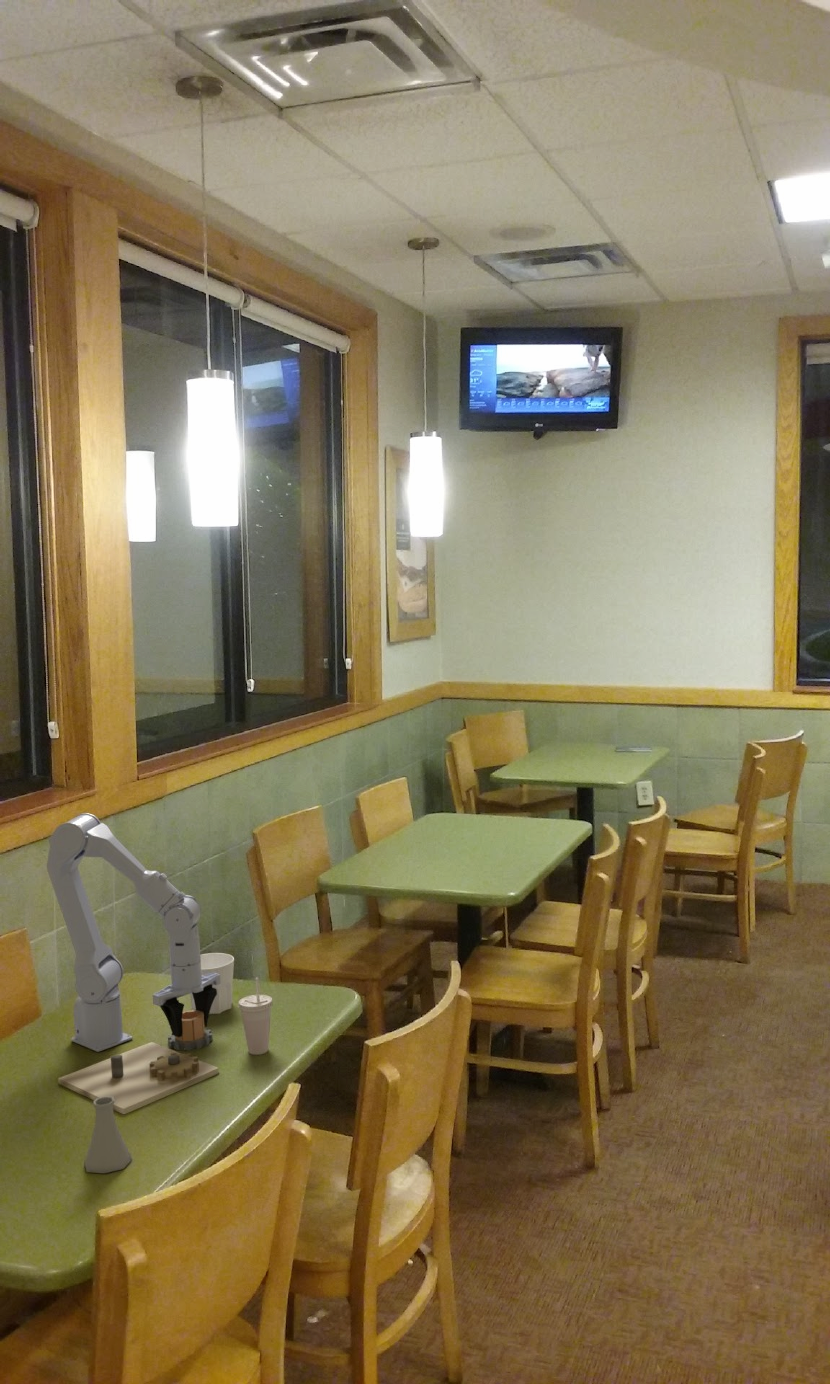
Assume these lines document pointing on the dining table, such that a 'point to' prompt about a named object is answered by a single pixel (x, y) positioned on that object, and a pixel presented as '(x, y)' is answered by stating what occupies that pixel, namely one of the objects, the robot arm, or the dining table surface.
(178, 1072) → the carrier
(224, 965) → the cup
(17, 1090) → the dining table surface
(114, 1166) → the flask
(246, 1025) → the smoothie
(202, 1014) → the planet gear
